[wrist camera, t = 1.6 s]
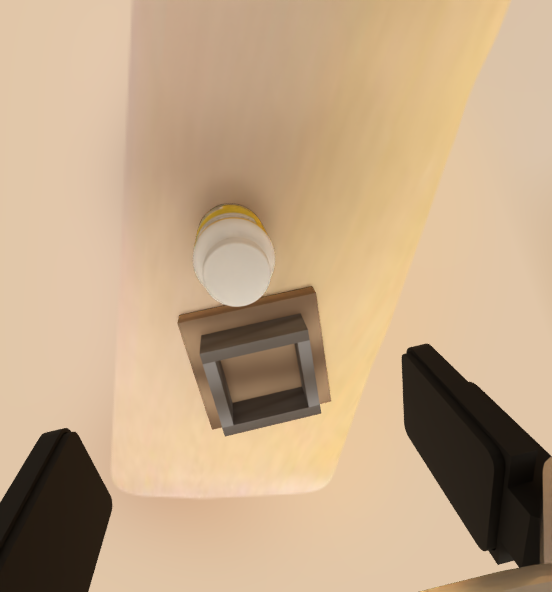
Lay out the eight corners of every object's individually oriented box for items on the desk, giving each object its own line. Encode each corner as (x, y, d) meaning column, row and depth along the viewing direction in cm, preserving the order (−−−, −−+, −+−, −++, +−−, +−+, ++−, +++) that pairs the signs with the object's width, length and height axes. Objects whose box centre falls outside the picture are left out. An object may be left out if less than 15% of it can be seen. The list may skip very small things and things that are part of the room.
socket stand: (179, 315, 32) (173, 341, 28) (311, 286, 33) (324, 307, 29) (212, 418, 37) (211, 453, 33) (327, 391, 38) (340, 422, 34)
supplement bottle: (259, 269, 32) (275, 321, 23) (195, 263, 31) (185, 315, 22) (268, 206, 30) (289, 236, 21) (200, 197, 29) (191, 224, 20)
